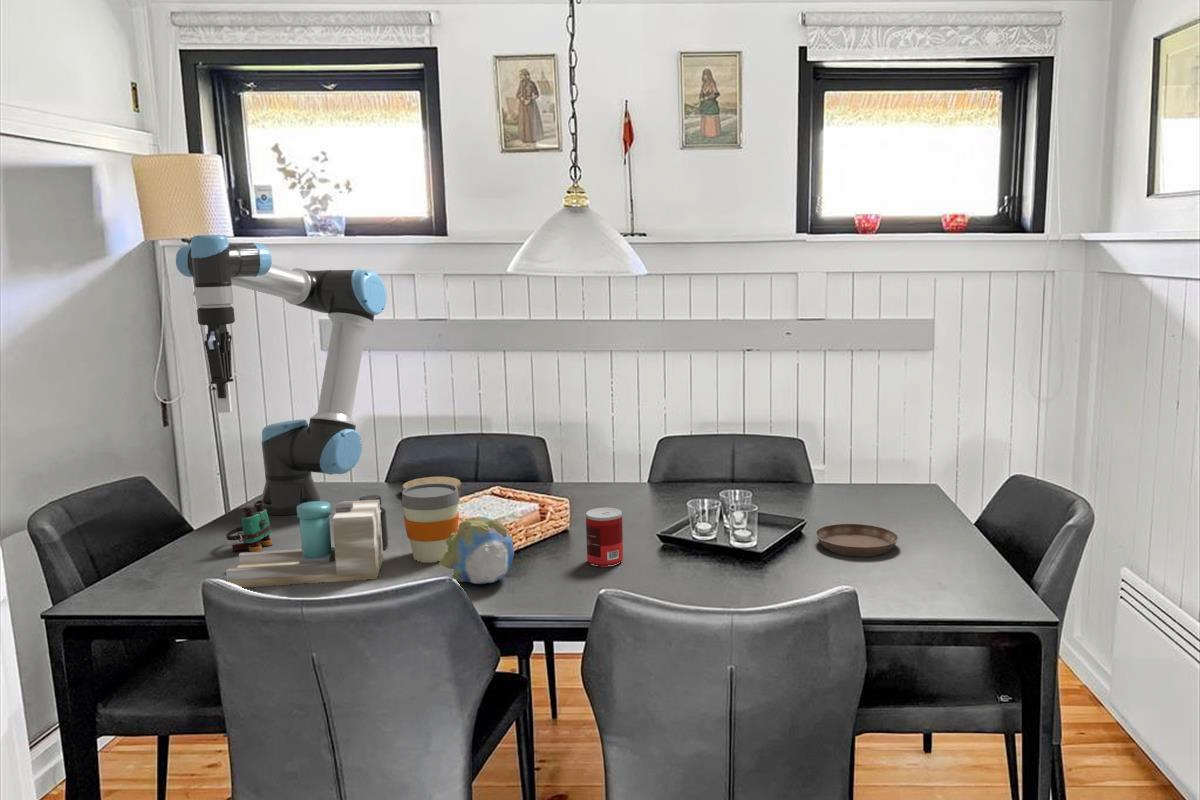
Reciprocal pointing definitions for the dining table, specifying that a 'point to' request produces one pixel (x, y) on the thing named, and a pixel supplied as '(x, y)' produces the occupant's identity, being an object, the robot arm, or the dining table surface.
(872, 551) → the plant saucer
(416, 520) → the reusable coffee cup
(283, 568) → the knob mount
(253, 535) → the binoculars
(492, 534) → the decorative rock
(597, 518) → the canned food
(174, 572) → the dining table surface
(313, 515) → the knob slider
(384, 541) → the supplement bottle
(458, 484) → the tan shallow dish
